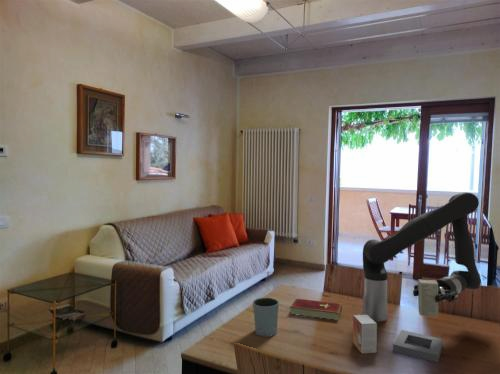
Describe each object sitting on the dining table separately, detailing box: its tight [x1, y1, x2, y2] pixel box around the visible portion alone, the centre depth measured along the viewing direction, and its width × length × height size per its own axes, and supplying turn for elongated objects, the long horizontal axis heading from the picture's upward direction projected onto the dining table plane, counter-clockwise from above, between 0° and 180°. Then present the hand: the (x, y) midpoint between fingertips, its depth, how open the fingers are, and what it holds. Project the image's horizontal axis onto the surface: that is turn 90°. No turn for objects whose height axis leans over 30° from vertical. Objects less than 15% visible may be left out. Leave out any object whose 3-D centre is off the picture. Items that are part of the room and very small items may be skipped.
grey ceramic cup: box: [252, 297, 280, 337], centre depth 142 cm, size 10×10×12 cm
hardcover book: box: [289, 298, 343, 321], centre depth 162 cm, size 12×21×4 cm, turn 71°
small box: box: [352, 314, 378, 354], centre depth 128 cm, size 8×6×10 cm
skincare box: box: [417, 278, 439, 318], centre depth 131 cm, size 6×4×12 cm
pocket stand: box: [392, 329, 444, 363], centre depth 128 cm, size 14×14×2 cm
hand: (425, 296), depth 130 cm, fingers closed on skincare box, 7 cm apart
